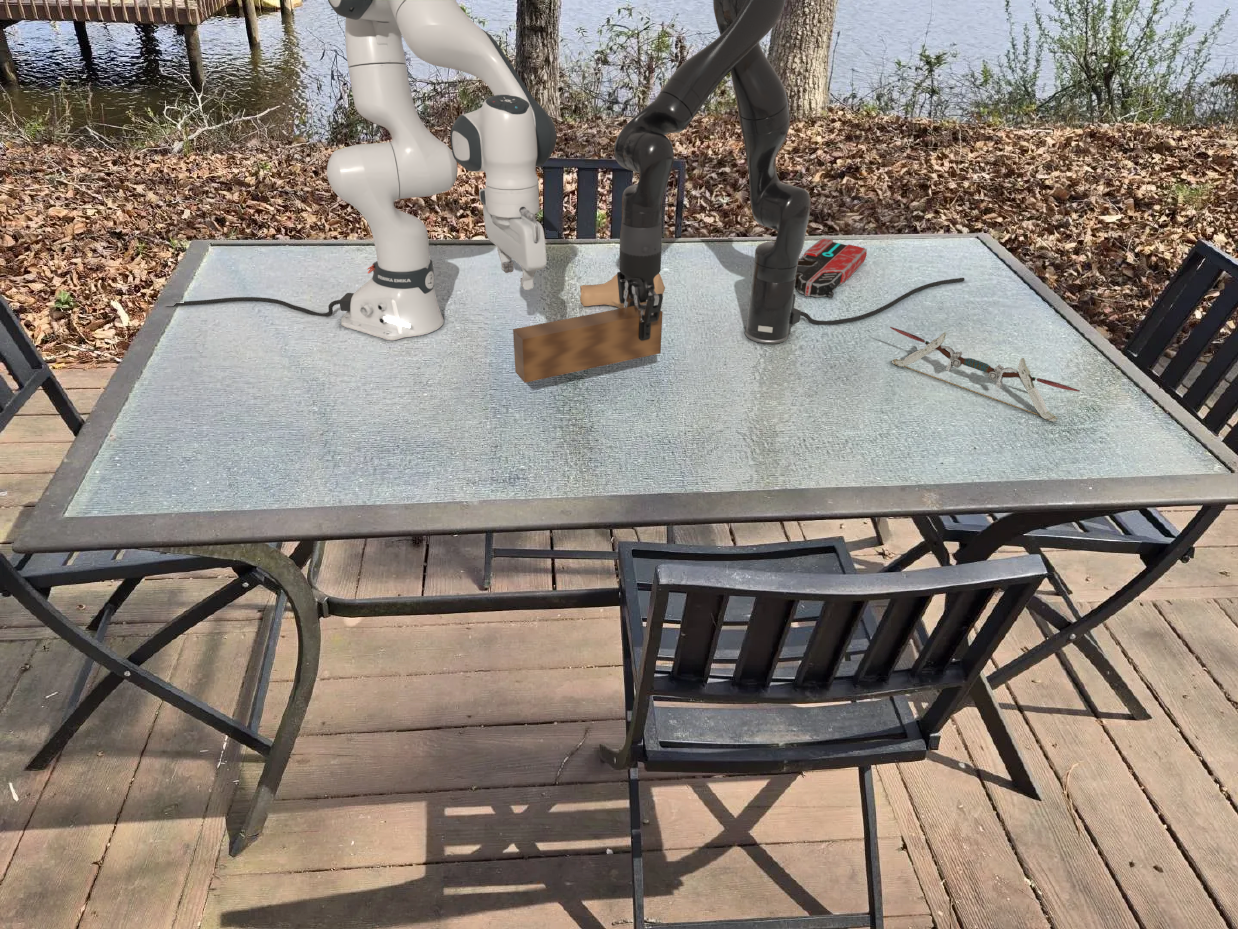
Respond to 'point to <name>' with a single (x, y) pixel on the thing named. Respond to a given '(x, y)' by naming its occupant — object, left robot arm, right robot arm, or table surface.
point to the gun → (827, 267)
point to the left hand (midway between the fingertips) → (517, 279)
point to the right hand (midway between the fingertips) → (637, 333)
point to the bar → (582, 343)
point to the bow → (994, 374)
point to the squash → (611, 292)
